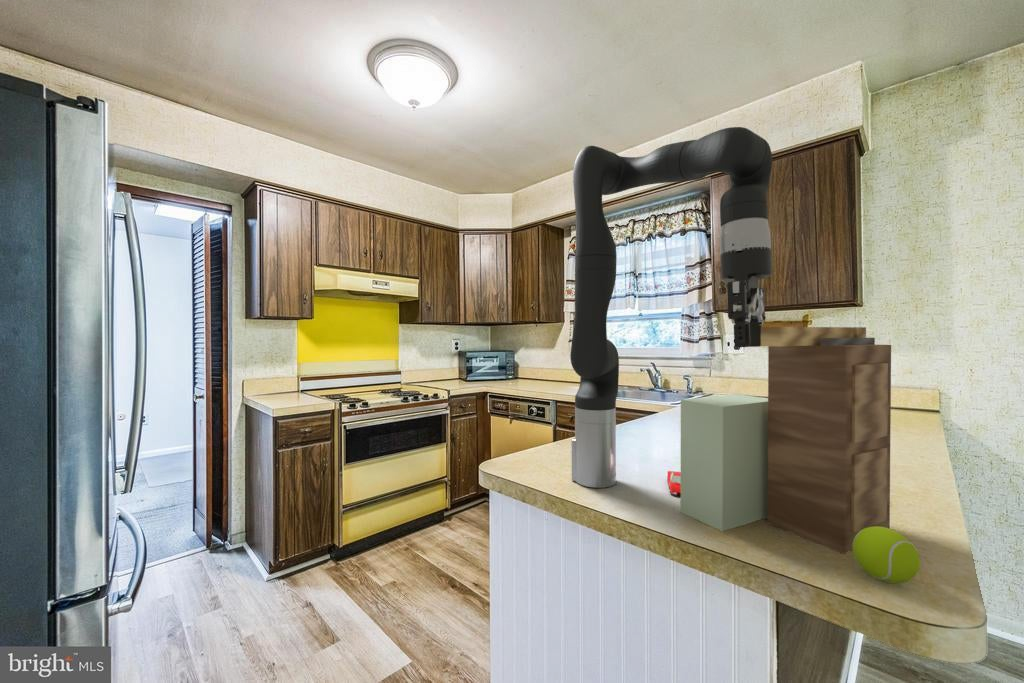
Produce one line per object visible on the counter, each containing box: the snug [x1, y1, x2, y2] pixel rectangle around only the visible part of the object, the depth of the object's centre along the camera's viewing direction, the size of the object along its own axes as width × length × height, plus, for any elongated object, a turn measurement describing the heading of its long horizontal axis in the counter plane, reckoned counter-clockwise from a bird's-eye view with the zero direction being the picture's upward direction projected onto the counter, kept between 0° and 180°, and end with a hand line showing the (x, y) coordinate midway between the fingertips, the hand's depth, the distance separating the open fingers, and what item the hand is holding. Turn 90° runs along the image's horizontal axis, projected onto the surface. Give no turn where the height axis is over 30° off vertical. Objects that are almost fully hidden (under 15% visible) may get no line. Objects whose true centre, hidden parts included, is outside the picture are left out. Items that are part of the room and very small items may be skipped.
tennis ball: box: [852, 526, 921, 584], centre depth 59 cm, size 7×7×7 cm
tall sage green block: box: [680, 393, 768, 532], centre depth 81 cm, size 16×9×22 cm, turn 116°
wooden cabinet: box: [767, 337, 892, 554], centre depth 74 cm, size 14×12×33 cm
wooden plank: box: [760, 326, 867, 347], centre depth 72 cm, size 24×4×3 cm, turn 116°
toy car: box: [666, 470, 681, 498], centre depth 95 cm, size 12×5×3 cm, turn 162°
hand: (749, 346), depth 71 cm, fingers open, 8 cm apart
